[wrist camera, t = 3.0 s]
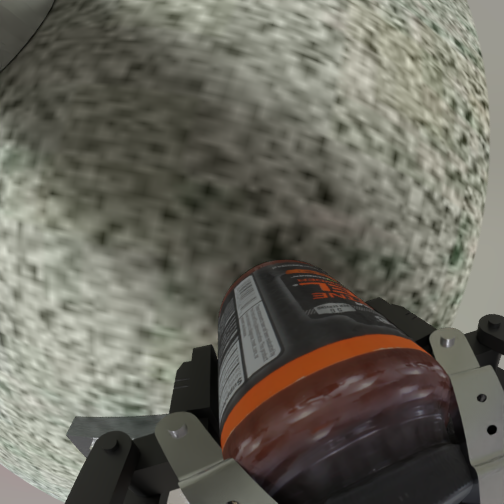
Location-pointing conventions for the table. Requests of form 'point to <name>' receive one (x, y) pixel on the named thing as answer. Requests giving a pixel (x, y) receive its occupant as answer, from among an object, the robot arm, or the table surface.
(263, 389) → the supplement bottle
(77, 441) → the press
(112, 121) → the table surface
